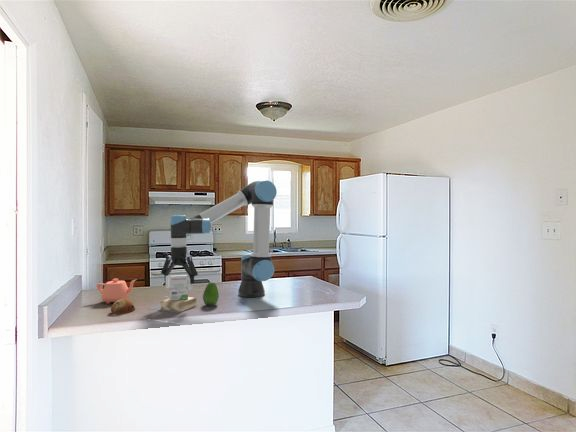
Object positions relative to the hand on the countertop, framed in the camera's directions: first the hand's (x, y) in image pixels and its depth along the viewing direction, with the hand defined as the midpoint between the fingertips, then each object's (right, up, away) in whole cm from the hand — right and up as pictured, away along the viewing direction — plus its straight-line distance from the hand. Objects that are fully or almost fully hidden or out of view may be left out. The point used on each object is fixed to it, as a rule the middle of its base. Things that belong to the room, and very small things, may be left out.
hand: (179, 289), depth 189 cm
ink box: (0, -5, 0) cm, 5 cm away
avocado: (+15, -9, +5) cm, 18 cm away
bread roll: (-25, -10, -7) cm, 27 cm away
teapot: (-37, -9, +14) cm, 40 cm away
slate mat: (-3, -9, +1) cm, 10 cm away
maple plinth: (0, -9, 0) cm, 9 cm away
